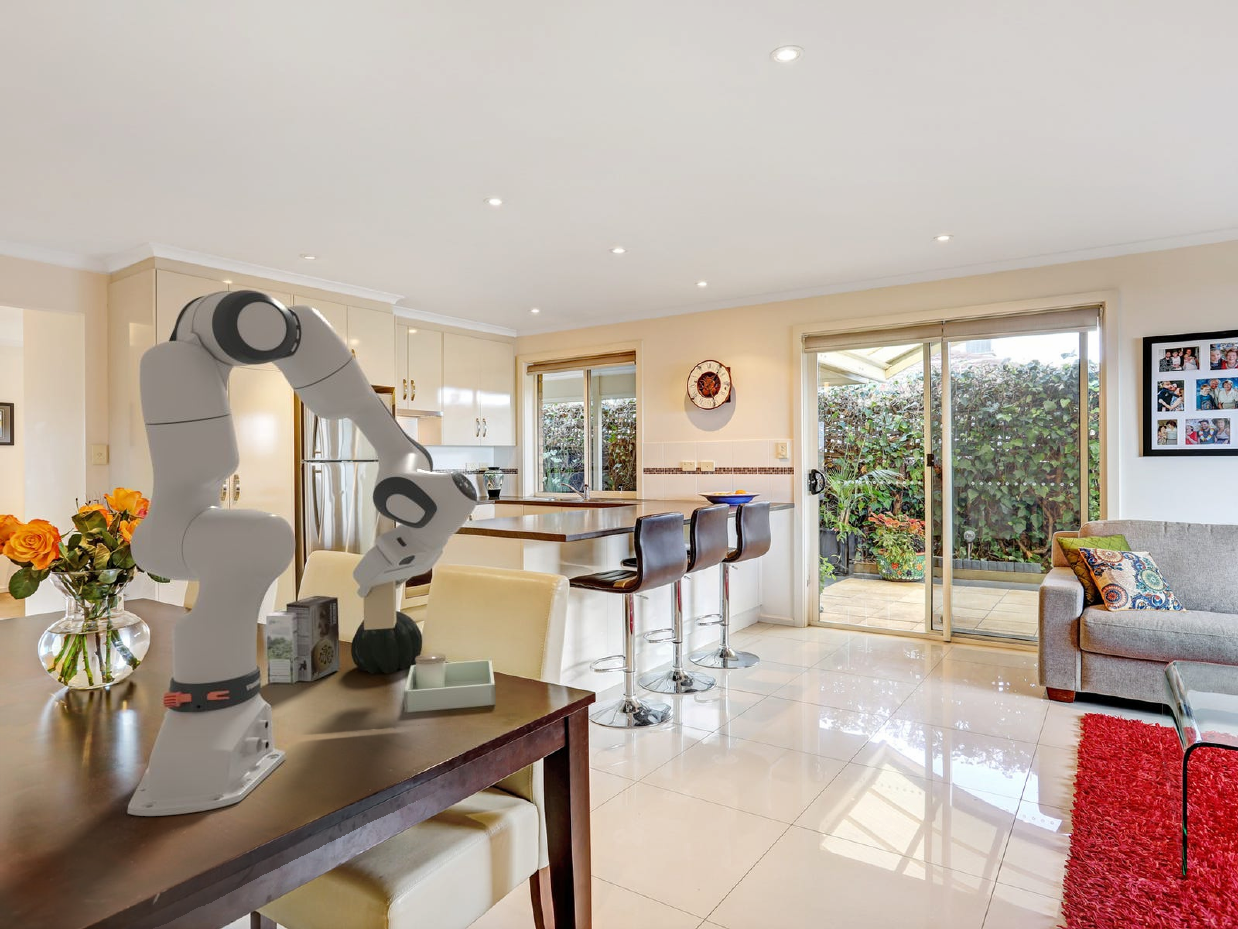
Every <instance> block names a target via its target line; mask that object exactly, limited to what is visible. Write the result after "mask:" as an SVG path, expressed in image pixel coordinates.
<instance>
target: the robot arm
mask: <svg viewBox="0 0 1238 929" xmlns="http://www.w3.org/2000/svg"><path fill="white" fill-rule="evenodd" d="M269 363H271V364H273V365H274V366H276V368H277V369H278V370H279V371H280V372H281V373H282V374H283V377H284V378H285V379H286V381H287V382H288V384H289V386H290V387H291V388H292V389H293V391H294V393H295V394H296V396H297V398H299V400H300V402H302V403H303V404H304V406H306V408H308V410H309V411H311V413H313V414H314V415H315V416H316V417H319V418H321V419H325V420H331V421H333V420H334V421H338V420H344V419H346V418H347V419H349V420H350V421H352V422H353V423H354V424H355V425H356V426H357V428H358V430H360V432H361V433H362V435H363V436H364V437H365V439H366V440H367V441H368V442H369V444H370V445H371V446H372V447H373V449H374V450H375V452H376V455H377V460H378V472H377V476H376V479H375V482H374V488H373V491H372V502H373V505H374V507H375V509H376V510H377V512H379V513H380V514H381V515H382V516H384V518H387V519H389V520H391V521H394V522H396V523H399V525H397V526H395V527H394V528H393V529H391V530H388V531H385V532H382V533H381V534H379V535H378V536H377V537H376V538H375V540H374V543H375V545H374V546H372V547H371V548H370V549H369V550H368V551H367V552H366V554H365V555H363V557H362V558H361V560H360V561H359V562H358V563H357V565H356V566H355V568H354V570H353V571H352V577H353V579H354V580H355V581H356V583H357V584H358V585H359V588H358V589H357V592H356V593H357V595H358V596H359V597H360V599H364V597H367V596H368V595H369V594H370V593H371V592H372V591H371V587H374V586H376V585H380V584H384V583H388V582H392V581H396V590H397V589H399V588H400V587H401V586H402V585H403V584H404V583H406V582H407V581H408V580H410V579H412V577H416V576H420V575H423V574H426V573H428V572H430V571H431V569H432V568H433V567H434V566H435V564H436V563H437V562H438V561H439V559H440V558H441V556H442V554H443V549H444V548H445V547H446V545H447V544H448V542H449V539H450V538H451V536H453V535H455V534H456V533H457V532H458V531H459V530H460V529H461V528H462V526H464V524H465V523H466V522H467V520H468V519H469V517H470V516H471V514H472V513H473V512H474V510H475V508H476V506H477V504H478V494H477V490H476V488H475V487H474V485H473V483H472V481H471V480H470V479H469V478H468V477H467V476H466V475H464V474H463V473H461V472H459V471H457V470H456V471H455V470H452V471H448V472H434V462H433V458H432V456H431V454H430V452H429V451H428V449H426V448H425V447H424V446H423V445H422V444H420V443H419V442H417V440H415V439H413V438H412V437H411V436H409V435H408V434H407V433H406V432H405V430H404V429H403V428H402V426H401V425H400V423H398V421H397V420H396V418H395V417H394V415H393V414H392V413H391V411H390V409H388V407H387V405H385V403H384V402H383V400H382V398H380V397H379V395H378V394H377V393H376V391H375V389H374V388H373V387H372V385H371V383H370V382H369V380H368V379H367V376H366V375H365V373H364V372H363V369H362V368H361V366H360V364H359V362H358V361H357V360H356V358H355V356H354V354H353V353H352V352H351V349H349V347H348V345H347V344H346V343H345V341H344V340H343V339H342V337H341V336H340V335H339V333H338V332H337V331H336V329H335V328H334V327H333V326H332V325H331V323H330V322H329V321H328V320H327V319H326V318H325V317H324V316H323V315H322V314H321V313H320V312H319V310H317V309H316V308H314V307H311V306H309V305H304V304H303V305H301V304H299V305H291V306H285V305H284V304H282V303H281V302H279V301H278V300H277V299H275V298H274V297H272V296H270V295H268V294H266V293H263V292H260V291H258V290H257V291H256V290H253V289H252V290H250V289H248V290H247V289H240V290H235V291H231V290H221V291H216V292H213V293H210V294H207V295H202V296H198V297H196V298H194V299H192V300H191V301H189V302H188V303H187V304H186V305H184V306H183V308H182V309H181V310H180V312H179V313H178V315H177V318H176V320H175V324H174V328H173V330H172V332H171V335H170V336H169V339H168V341H164V342H161V343H158V344H156V345H154V346H152V347H150V348H149V349H147V350H146V351H145V352H144V353H143V355H142V356H141V359H140V364H139V391H140V393H139V394H140V404H141V411H142V412H141V413H142V418H143V423H144V428H145V432H146V438H147V442H148V449H149V453H150V454H149V455H150V461H151V465H152V466H151V467H152V476H153V477H152V478H153V485H152V486H153V487H152V494H151V500H150V503H149V507H148V511H147V513H146V515H145V517H143V519H142V520H141V521H140V522H139V523H138V524H137V526H136V527H135V528H134V530H133V533H132V535H131V539H130V554H131V557H132V559H133V561H134V564H136V566H137V567H138V568H139V569H141V570H142V571H143V572H145V573H148V574H151V575H154V576H156V577H159V578H162V579H163V578H164V579H167V580H170V581H185V582H186V581H187V582H198V586H199V587H198V591H197V597H196V599H195V602H194V605H193V606H192V608H191V610H190V611H188V612H187V613H185V614H183V615H182V616H181V617H180V618H179V619H178V620H177V621H176V623H175V624H174V626H173V629H172V671H173V672H172V673H173V675H172V676H173V677H172V678H171V679H170V682H169V687H168V691H167V692H165V693H164V695H163V699H162V700H163V701H162V703H163V704H162V706H163V707H164V708H166V709H167V708H168V710H167V711H166V712H165V713H164V718H163V720H162V723H161V726H160V728H159V731H158V733H157V736H156V740H155V742H154V745H153V747H152V751H151V753H150V757H149V759H148V767H147V769H146V770H145V772H144V774H143V776H142V778H141V780H140V782H139V784H138V785H137V788H136V789H135V791H134V793H133V796H132V797H131V799H130V801H129V802H128V806H127V814H128V815H133V816H141V817H143V816H145V817H156V816H157V817H158V816H159V817H160V816H172V815H173V816H174V815H181V814H189V813H190V814H191V813H196V812H204V811H207V810H213V809H214V810H215V809H218V808H222V807H226V806H229V805H234V804H235V803H238V802H241V801H242V800H243V799H244V798H246V796H247V795H248V794H250V793H251V792H252V791H254V789H255V788H256V787H257V786H258V785H260V783H262V782H263V780H264V779H266V778H267V777H268V776H269V775H270V774H271V773H272V772H273V771H274V770H275V769H277V767H279V765H281V763H283V762H284V761H285V760H286V753H285V751H284V750H281V749H277V748H275V738H274V726H273V714H272V713H273V712H272V711H273V710H272V706H271V705H270V704H269V703H268V702H267V701H266V700H265V699H263V697H262V695H261V693H260V691H261V689H262V686H261V682H262V674H261V667H260V666H258V665H257V664H258V662H257V661H258V658H257V657H258V655H257V653H258V652H257V651H258V650H257V649H258V644H257V642H258V640H257V639H258V622H259V621H258V620H259V614H260V610H261V607H262V605H263V601H264V599H265V596H266V594H267V592H268V590H269V588H270V587H271V585H272V584H273V583H274V582H275V580H276V579H278V578H279V577H280V576H281V575H282V574H283V573H285V572H286V570H287V569H288V567H289V566H290V565H291V563H292V562H293V558H294V555H295V550H296V537H295V532H294V530H293V528H292V526H291V525H290V524H289V522H288V521H287V520H286V519H285V518H283V516H280V515H278V514H277V515H276V514H274V513H273V514H272V513H270V512H266V511H261V510H258V509H252V508H222V507H223V506H222V502H221V501H222V500H221V499H222V496H221V495H222V490H223V485H224V484H225V481H226V480H228V479H229V478H230V477H231V476H233V474H234V473H235V472H236V471H237V469H238V467H239V466H240V461H241V460H240V459H241V458H240V454H239V448H238V442H237V437H236V430H235V426H234V420H233V415H232V410H231V404H230V401H229V397H228V393H227V392H228V380H229V377H230V373H231V371H232V369H234V367H245V366H251V365H253V366H254V365H263V364H269Z"/></svg>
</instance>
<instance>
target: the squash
mask: <svg viewBox="0 0 1238 929" xmlns="http://www.w3.org/2000/svg"><path fill="white" fill-rule="evenodd" d="M422 635H423V634H422V632H421V630H420V628H419V626H418V624H417V623H416V621H415V620H413V619H412V618H411V617H410V616H409V615H407V614H405V613H404V612H402V611H397V610H396V624H395V627H394V628H386V629H370V630H364V619H363V620H362V622H361V623H360V624H359V626H358V627H357V630H356V632H355V634H354V636H353V638H352V641H351V646H350V655H351V659H352V661H353V663H354V665H355V666H356V667H357V668H358V669H359V670H360V671H363V672H367V673H369V674H371V675H375V674H380V673H384V674H387V675H388V674H394V673H397V671H398V670H404V669H406V668H408V667H409V666H411V665H415V664H416V662H415V658H416V657H417V656H419V655H422V654H421V652H422V648H423V636H422Z"/></svg>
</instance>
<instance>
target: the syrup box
mask: <svg viewBox="0 0 1238 929" xmlns="http://www.w3.org/2000/svg"><path fill="white" fill-rule="evenodd" d="M265 617H266V618H265V620H266V626H265V627H266V655H267V656H266V658H267V659H266V662H267V665H266V666H267V684H277V685H278V684H282V685H283V684H284V685H285V684H288V685H289V684H291V685H292V684H296V683H297V682H296V681H298V682H299V681H300V680H298V646H297V614H296V613H293V612H287V609H278V610H276V611H275V610H274V611H273V612H270V613H268V614H266V616H265ZM295 682H296V683H295Z"/></svg>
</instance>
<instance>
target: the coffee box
mask: <svg viewBox="0 0 1238 929" xmlns="http://www.w3.org/2000/svg"><path fill="white" fill-rule="evenodd" d="M285 607H286V610H287V612H293V613H296V614H297V646H298V680H299V681H303V682H314V681H316V680H318V679H320V678H322V677H325V676H328V675H329V674H332V673H333V672H336V671H338V670H340V668H341V665H340V663H341V661H340V633H339V631H340V629H339V626H340V625H339V597H338V596H337V597H336V596H326V595H325V596H324V595H314V596H310V597H306V598H302V599H300V600H299V599H298V600H296V601H292V602H290V603H286V606H285Z"/></svg>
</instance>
